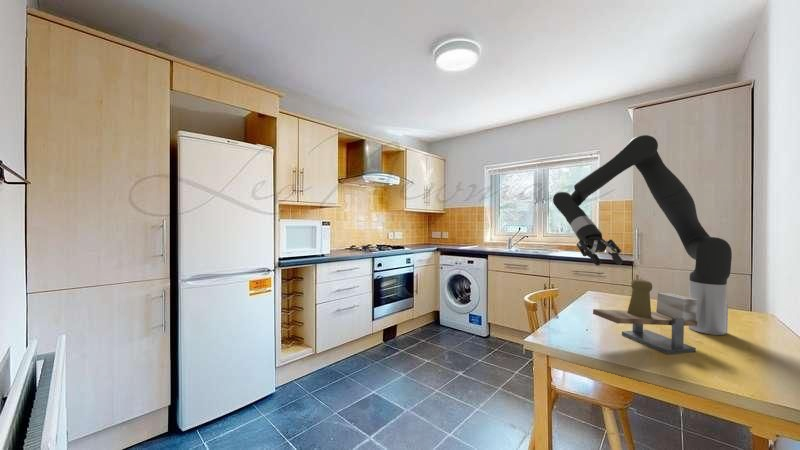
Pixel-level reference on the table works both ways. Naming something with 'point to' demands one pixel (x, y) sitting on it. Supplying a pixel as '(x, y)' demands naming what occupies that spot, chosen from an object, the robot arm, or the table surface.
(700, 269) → the robot arm
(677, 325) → the beam stand
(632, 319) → the balance beam
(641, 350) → the table surface
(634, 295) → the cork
